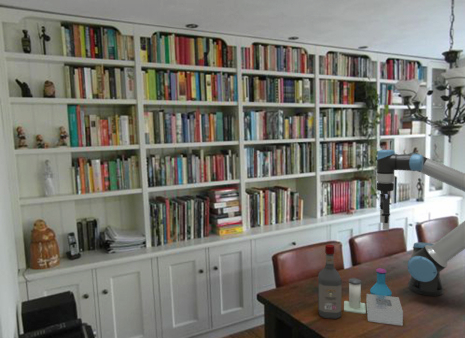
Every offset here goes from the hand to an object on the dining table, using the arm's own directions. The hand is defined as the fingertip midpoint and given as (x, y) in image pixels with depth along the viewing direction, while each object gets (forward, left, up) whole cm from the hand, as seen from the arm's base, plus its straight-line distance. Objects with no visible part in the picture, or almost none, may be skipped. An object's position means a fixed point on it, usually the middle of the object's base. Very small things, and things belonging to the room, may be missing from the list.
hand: (384, 226), depth 169 cm
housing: (+2, +25, -33) cm, 41 cm away
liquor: (+24, +29, -33) cm, 50 cm away
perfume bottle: (+2, +11, -33) cm, 35 cm away
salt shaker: (+14, +21, -32) cm, 41 cm away
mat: (+14, +21, -33) cm, 41 cm away
